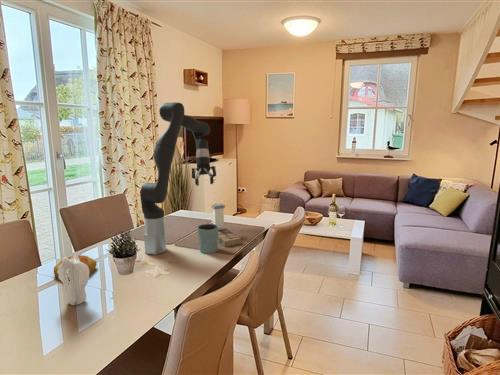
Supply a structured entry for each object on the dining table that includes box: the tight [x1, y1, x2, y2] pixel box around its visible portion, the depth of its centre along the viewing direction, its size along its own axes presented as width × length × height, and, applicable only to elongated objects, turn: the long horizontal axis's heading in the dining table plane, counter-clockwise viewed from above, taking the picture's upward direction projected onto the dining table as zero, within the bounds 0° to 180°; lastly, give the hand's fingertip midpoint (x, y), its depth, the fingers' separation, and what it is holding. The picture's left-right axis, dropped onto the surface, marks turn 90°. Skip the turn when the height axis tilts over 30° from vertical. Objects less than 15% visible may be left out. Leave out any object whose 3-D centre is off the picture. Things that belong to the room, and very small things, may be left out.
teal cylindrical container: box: [197, 223, 219, 255], centre depth 157 cm, size 10×10×12 cm
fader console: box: [218, 227, 242, 248], centre depth 173 cm, size 22×9×3 cm, turn 28°
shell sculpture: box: [57, 252, 90, 306], centre depth 111 cm, size 8×8×18 cm
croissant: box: [53, 254, 98, 280], centre depth 133 cm, size 14×16×8 cm
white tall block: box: [211, 203, 226, 230], centre depth 178 cm, size 4×6×14 cm, turn 118°
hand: (204, 184), depth 189 cm, fingers open, 8 cm apart
